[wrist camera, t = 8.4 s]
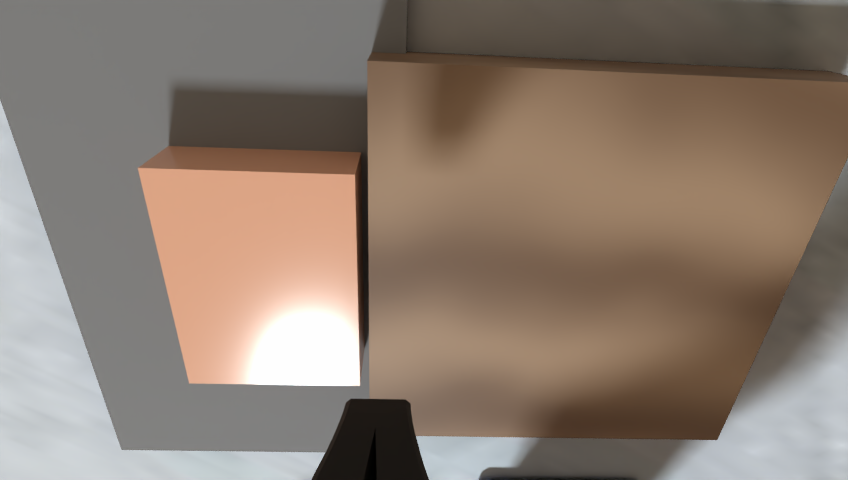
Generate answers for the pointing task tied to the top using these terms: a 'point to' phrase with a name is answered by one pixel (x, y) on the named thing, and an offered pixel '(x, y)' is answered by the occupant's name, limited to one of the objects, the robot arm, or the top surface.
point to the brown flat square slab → (585, 236)
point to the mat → (190, 127)
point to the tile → (261, 262)
